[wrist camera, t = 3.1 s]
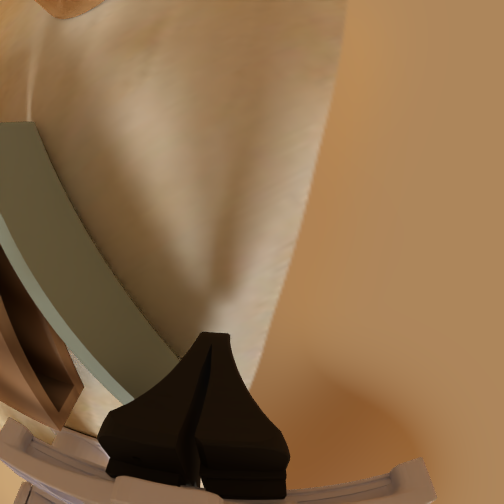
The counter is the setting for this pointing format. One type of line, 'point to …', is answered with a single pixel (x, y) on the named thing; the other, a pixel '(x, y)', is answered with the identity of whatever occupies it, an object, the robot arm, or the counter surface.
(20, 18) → the counter surface
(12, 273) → the cabinet
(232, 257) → the counter surface
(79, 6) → the beer glass
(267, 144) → the counter surface
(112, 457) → the robot arm
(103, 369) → the cabinet door
